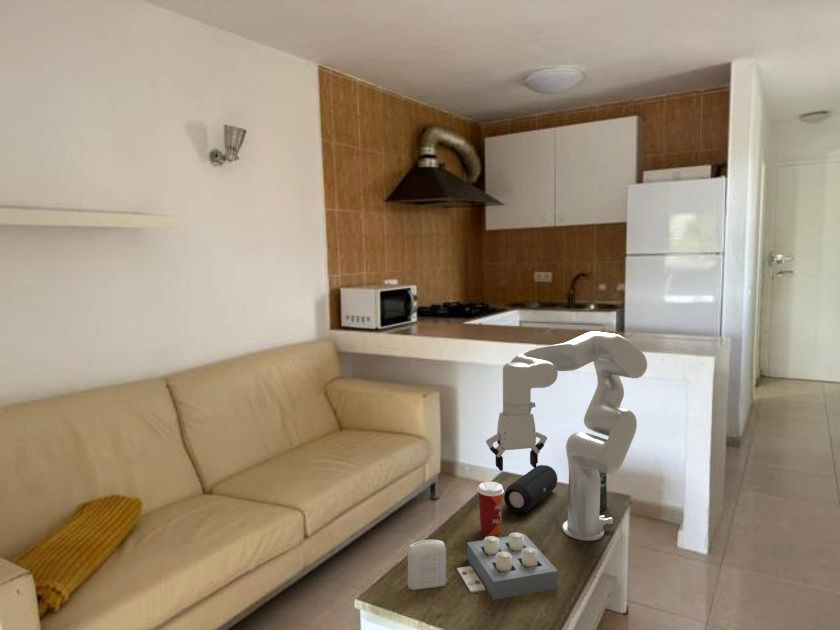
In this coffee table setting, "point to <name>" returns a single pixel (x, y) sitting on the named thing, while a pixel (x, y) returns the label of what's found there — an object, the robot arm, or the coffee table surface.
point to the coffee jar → (603, 490)
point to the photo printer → (426, 564)
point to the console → (511, 581)
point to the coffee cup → (490, 507)
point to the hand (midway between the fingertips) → (516, 467)
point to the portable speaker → (530, 488)
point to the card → (471, 579)
